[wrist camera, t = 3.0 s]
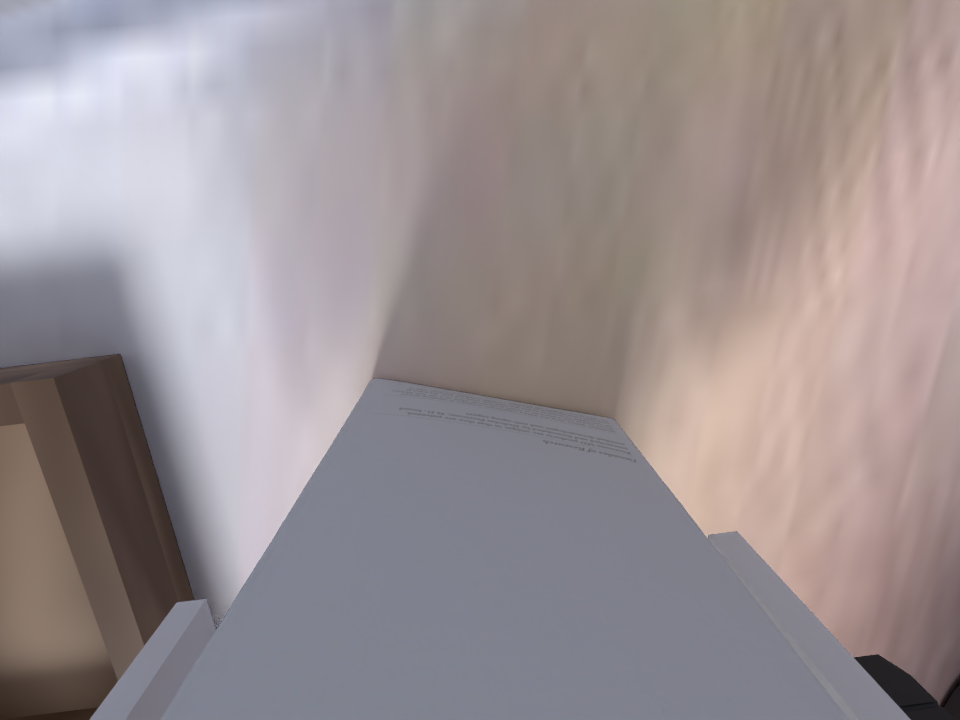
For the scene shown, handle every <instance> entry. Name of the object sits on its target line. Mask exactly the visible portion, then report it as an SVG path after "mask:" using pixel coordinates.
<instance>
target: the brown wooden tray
mask: <svg viewBox="0 0 960 720" xmlns="http://www.w3.org/2000/svg"><path fill="white" fill-rule="evenodd" d="M192 600H194V598H193V595H192V591H191V588H190V585H189V581H188V578H187V575H186V571H185V568H184V565H183V561H182V558H181V555H180V551H179V548H178V545H177V541H176V538H175V535H174V531H173V528H172V525H171V522H170V518H169V515H168V512H167V508H166V505H165V502H164V498H163V495H162V492H161V488H160V485H159V482H158V478H157V475H156V472H155V468H154V465H153V462H152V458H151V455H150V452H149V448H148V445H147V442H146V438H145V435H144V432H143V429H142V425H141V422H140V419H139V415H138V412H137V409H136V405H135V402H134V399H133V395H132V392H131V389H130V385H129V382H128V379H127V375H126V372H125V369H124V365H123V362H122V359H121V355H120V354H117V355H108V356H100V357H91V358H83V359H74V360H66V361H57V362H49V363H40V364H32V365H24V366H15V367H7V368H0V720H90V718H91V717H92V716H93V714H94V713H95V712H96V710H97V709H98V708H99V706H100V705H101V703H102V702H103V701H104V699H105V698H106V697H107V695H108V694H109V693H110V691H111V690H112V689H113V687H114V686H115V685H116V683H117V682H118V681H119V679H120V678H121V677H122V675H123V674H124V673H125V671H126V670H127V669H128V667H129V666H130V665H131V663H132V662H133V660H134V659H135V658H136V656H137V655H138V654H139V652H140V651H141V650H142V648H143V647H144V646H145V644H146V643H147V642H148V640H149V639H150V638H151V636H152V635H153V634H154V632H155V631H156V630H157V628H158V627H159V626H160V624H161V623H162V621H163V620H164V619H165V617H166V616H167V615H168V613H169V612H170V611H171V609H172V608H173V607H174V605H175V604H176V603H177V602H184V601H192Z"/></svg>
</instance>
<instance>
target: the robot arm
mask: <svg viewBox="0 0 960 720" xmlns="http://www.w3.org/2000/svg"><path fill="white" fill-rule="evenodd" d="M708 540H709V541H710V542H711V543H712V545H713V546H714V547H715V548H716V550H717V551H718V552H719V553H720V555H721V556H722V557H723V558H724V560H725V561H726V562H727V564H728V565H729V566H730V568H731V569H732V570H733V571H734V573H735V574H736V575H737V577H738V578H739V579H740V580H741V582H742V583H743V584H744V586H745V587H746V588H747V589H748V591H749V592H750V593H751V595H752V596H753V597H754V598H755V600H756V601H757V602H758V604H759V605H760V606H761V607H762V609H763V610H764V611H765V613H766V614H767V615H768V616H769V618H770V619H771V620H772V622H773V623H774V624H775V625H776V627H777V628H778V629H779V631H780V632H781V633H782V634H783V636H784V637H785V638H786V639H787V641H788V642H789V643H790V645H791V646H792V647H793V648H794V650H795V651H796V652H797V654H798V655H799V656H800V657H801V659H802V660H803V661H804V663H805V664H806V665H807V666H808V668H809V669H810V670H811V672H812V673H813V674H814V675H815V677H816V678H817V679H818V680H819V682H820V683H821V684H822V686H823V687H824V688H825V689H826V691H827V692H828V693H829V695H830V696H831V697H832V698H833V700H834V701H835V702H836V703H837V705H838V706H839V707H840V709H841V710H842V711H843V712H844V714H845V715H846V716H847V718H848V719H849V720H960V684H959V685H958V687H957V688H956V690H955V691H954V692H953V694H952V695H951V697H950V698H949V700H948V701H947V703H946V705H945V706H944V708H943V707H940V706H939V705H938V704H937V701H936V700H935V699H934V698H933V697H932V696H931V695H930V694H929V693H928V692H927V691H926V690H925V689H924V688H923V687H922V686H921V685H920V684H919V683H918V682H917V681H916V680H915V679H914V678H913V677H912V676H911V675H909V674H908V673H906V672H905V671H903V670H902V669H900V668H898V667H897V666H895V665H894V664H892V663H891V662H889V661H887V660H886V659H884V658H883V657H881V656H880V655H878V654H877V655H870V656H862V657H854V658H853V656H852V655H851V654H850V653H849V652H848V651H847V650H846V649H845V648H844V647H843V646H842V645H841V643H840V642H839V641H838V640H837V639H836V638H835V637H834V636H833V635H832V634H831V633H830V632H829V630H828V629H827V628H826V627H825V626H824V625H823V624H822V623H821V622H820V621H819V620H818V618H817V617H816V616H815V615H814V614H813V613H812V612H811V611H810V610H809V609H808V608H807V607H806V605H805V604H804V603H803V602H802V601H801V600H800V599H799V598H798V597H797V596H796V595H795V594H794V592H793V591H792V590H791V589H790V588H789V587H788V586H787V585H786V584H785V583H784V582H783V581H782V579H781V578H780V577H779V576H778V575H777V574H776V573H775V572H774V571H773V570H772V569H771V568H770V566H769V565H768V564H767V563H766V562H765V561H764V560H763V559H762V558H761V557H760V556H759V555H758V553H757V552H756V551H755V550H754V549H753V548H752V547H751V546H750V545H749V544H748V543H747V542H746V540H745V539H744V538H743V537H742V536H741V535H740V534H739V533H738V532H737V531H735V532H727V533H719V534H711V535H708ZM215 631H216V629H215V625H214V622H213V619H212V616H211V612H210V609H209V606H208V602H207V599H200V600H192V601H184V602H177V603H176V604H175V605H174V607H173V608H172V609H171V611H170V612H169V613H168V615H167V616H166V617H165V619H164V620H163V621H162V623H161V624H160V626H159V627H158V628H157V630H156V631H155V632H154V634H153V635H152V636H151V638H150V639H149V640H148V642H147V643H146V644H145V646H144V647H143V648H142V650H141V651H140V652H139V654H138V655H137V656H136V658H135V659H134V660H133V662H132V663H131V665H130V666H129V667H128V669H127V670H126V671H125V673H124V674H123V675H122V677H121V678H120V679H119V681H118V682H117V683H116V685H115V686H114V687H113V689H112V690H111V691H110V693H109V694H108V695H107V697H106V698H105V699H104V701H103V702H102V703H101V705H100V706H99V708H98V709H97V710H96V712H95V713H94V714H93V716H92V717H91V718H90V720H160V719H161V718H162V716H163V714H164V713H165V711H166V710H167V708H168V706H169V705H170V703H171V701H172V700H173V698H174V697H175V695H176V693H177V692H178V690H179V689H180V687H181V685H182V684H183V682H184V680H185V679H186V677H187V676H188V674H189V672H190V671H191V669H192V668H193V666H194V664H195V663H196V661H197V660H198V658H199V656H200V655H201V653H202V652H203V650H204V648H205V647H206V645H207V644H208V642H209V640H210V639H211V637H212V636H213V634H214V632H215Z"/></svg>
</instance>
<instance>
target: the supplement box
mask: <svg viewBox="0 0 960 720" xmlns="http://www.w3.org/2000/svg"><path fill="white" fill-rule="evenodd" d="M160 720H849V719H848V718H847V716H846V715H845V714H844V712H843V711H842V710H841V709H840V707H839V706H838V705H837V703H836V702H835V701H834V700H833V698H832V697H831V696H830V695H829V693H828V692H827V691H826V689H825V688H824V687H823V686H822V684H821V683H820V682H819V680H818V679H817V678H816V677H815V675H814V674H813V673H812V672H811V670H810V669H809V668H808V666H807V665H806V664H805V663H804V661H803V660H802V659H801V657H800V656H799V655H798V654H797V652H796V651H795V650H794V648H793V647H792V646H791V645H790V643H789V642H788V641H787V639H786V638H785V637H784V636H783V634H782V633H781V632H780V631H779V629H778V628H777V627H776V625H775V624H774V623H773V622H772V620H771V619H770V618H769V616H768V615H767V614H766V613H765V611H764V610H763V609H762V607H761V606H760V605H759V604H758V602H757V601H756V600H755V598H754V597H753V596H752V595H751V593H750V592H749V591H748V589H747V588H746V587H745V586H744V584H743V583H742V582H741V580H740V579H739V578H738V577H737V575H736V574H735V573H734V571H733V570H732V569H731V568H730V566H729V565H728V564H727V562H726V561H725V560H724V558H723V557H722V556H721V555H720V553H719V552H718V551H717V550H716V548H715V547H714V546H713V545H712V543H711V542H710V541H709V540H708V538H707V537H706V536H705V535H704V533H703V532H702V531H701V529H700V528H699V527H698V525H697V524H696V523H695V521H694V520H693V519H692V518H691V516H690V515H689V514H688V513H687V511H686V510H685V509H684V507H683V506H682V504H681V503H680V502H679V501H678V500H677V498H676V497H675V496H674V494H673V493H672V492H671V491H670V489H669V488H668V487H667V486H666V484H665V483H664V482H663V481H662V480H661V478H660V477H659V476H658V474H657V473H656V472H655V470H654V469H653V468H652V466H651V465H650V464H649V463H648V461H647V460H646V459H645V457H644V456H643V455H642V454H641V452H640V451H639V450H638V449H637V447H636V446H635V445H634V444H633V442H632V441H631V440H630V438H629V437H628V436H627V435H626V433H625V432H624V431H623V429H622V428H621V427H620V426H619V424H618V423H617V422H616V421H615V420H614V419H612V418H606V417H601V416H595V415H590V414H584V413H578V412H572V411H566V410H561V409H555V408H549V407H543V406H538V405H532V404H526V403H521V402H515V401H509V400H504V399H498V398H492V397H487V396H481V395H475V394H469V393H464V392H458V391H452V390H447V389H441V388H435V387H430V386H424V385H418V384H412V383H406V382H400V381H393V380H386V379H372V380H371V381H370V382H369V384H368V386H367V387H366V389H365V391H364V392H363V394H362V396H361V398H360V399H359V401H358V402H357V404H356V405H355V407H354V409H353V410H352V412H351V414H350V415H349V417H348V419H347V420H346V422H345V424H344V425H343V427H342V428H341V430H340V432H339V433H338V435H337V437H336V438H335V440H334V441H333V443H332V445H331V446H330V448H329V450H328V451H327V453H326V454H325V456H324V458H323V459H322V461H321V462H320V464H319V465H318V467H317V469H316V470H315V472H314V473H313V475H312V477H311V478H310V480H309V481H308V483H307V485H306V486H305V488H304V489H303V491H302V493H301V494H300V496H299V498H298V499H297V501H296V502H295V504H294V506H293V507H292V509H291V511H290V512H289V514H288V516H287V517H286V519H285V520H284V522H283V523H282V525H281V526H280V528H279V530H278V532H277V533H276V535H275V537H274V538H273V540H272V542H271V543H270V545H269V546H268V548H267V549H266V551H265V552H264V554H263V556H262V557H261V559H260V560H259V562H258V563H257V565H256V567H255V568H254V570H253V571H252V573H251V574H250V576H249V578H248V579H247V581H246V582H245V584H244V586H243V587H242V589H241V591H240V592H239V594H238V596H237V597H236V599H235V600H234V602H233V604H232V605H231V607H230V609H229V610H228V612H227V614H226V615H225V617H224V618H223V620H222V622H221V623H220V625H219V626H218V628H217V629H216V631H215V632H214V634H213V636H212V637H211V639H210V640H209V642H208V644H207V645H206V647H205V648H204V650H203V652H202V653H201V655H200V656H199V658H198V660H197V661H196V663H195V664H194V666H193V668H192V669H191V671H190V672H189V674H188V676H187V677H186V679H185V680H184V682H183V684H182V685H181V687H180V689H179V690H178V692H177V693H176V695H175V697H174V698H173V700H172V701H171V703H170V705H169V706H168V708H167V710H166V711H165V713H164V714H163V716H162V718H161V719H160Z"/></svg>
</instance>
